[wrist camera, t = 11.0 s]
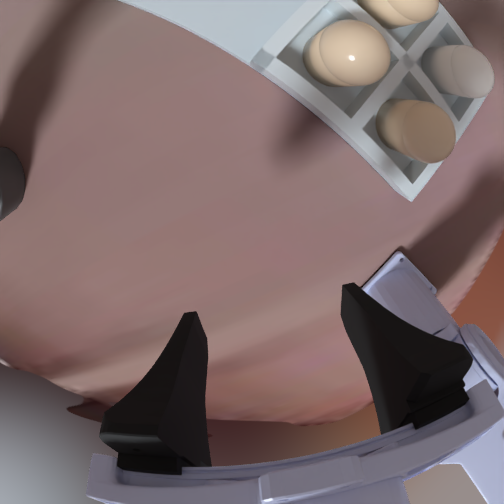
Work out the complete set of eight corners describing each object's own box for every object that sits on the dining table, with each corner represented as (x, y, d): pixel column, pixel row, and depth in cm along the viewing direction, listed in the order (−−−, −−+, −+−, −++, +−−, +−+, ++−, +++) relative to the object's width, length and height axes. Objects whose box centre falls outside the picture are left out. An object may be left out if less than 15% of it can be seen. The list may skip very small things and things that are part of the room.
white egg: (462, 74, 15) (509, 80, 10) (442, 103, 16) (491, 114, 11) (434, 37, 13) (482, 34, 8) (413, 65, 15) (463, 65, 10)
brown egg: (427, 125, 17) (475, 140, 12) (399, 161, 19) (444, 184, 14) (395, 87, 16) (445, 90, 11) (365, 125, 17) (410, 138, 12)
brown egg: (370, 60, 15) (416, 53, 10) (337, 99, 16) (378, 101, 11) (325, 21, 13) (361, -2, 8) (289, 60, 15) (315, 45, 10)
